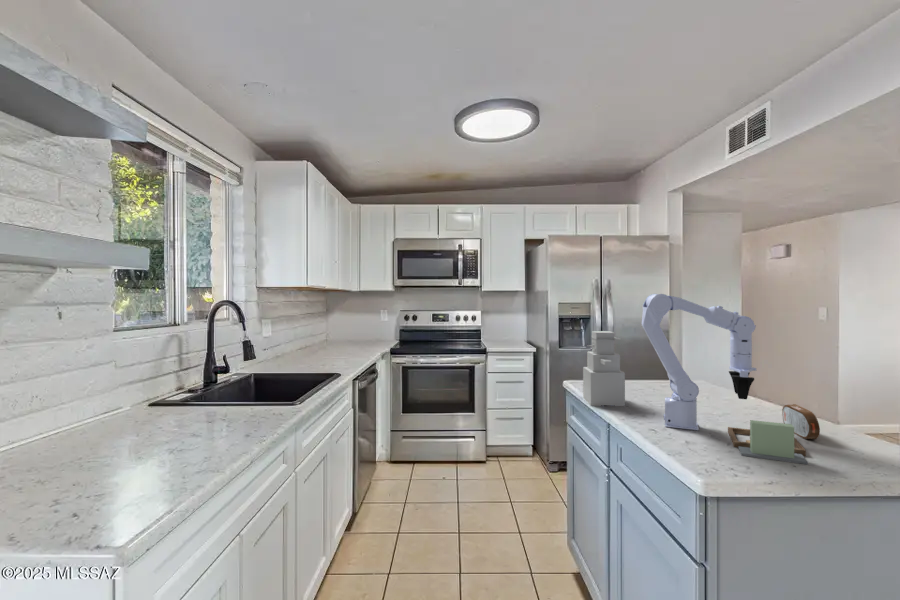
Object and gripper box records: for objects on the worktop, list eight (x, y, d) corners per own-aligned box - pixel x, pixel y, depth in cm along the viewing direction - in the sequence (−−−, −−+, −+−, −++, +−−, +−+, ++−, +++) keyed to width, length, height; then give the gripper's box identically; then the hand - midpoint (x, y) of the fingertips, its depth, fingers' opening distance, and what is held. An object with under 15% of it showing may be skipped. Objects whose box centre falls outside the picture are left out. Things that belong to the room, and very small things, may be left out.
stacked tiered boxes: (610, 394, 186) (610, 329, 186) (629, 409, 163) (629, 334, 162) (580, 394, 187) (579, 329, 187) (593, 409, 164) (593, 334, 163)
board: (752, 452, 116) (752, 423, 116) (750, 449, 119) (750, 420, 119) (794, 458, 112) (794, 427, 112) (791, 454, 115) (791, 424, 115)
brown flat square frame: (733, 447, 122) (733, 441, 122) (727, 431, 136) (727, 427, 136) (805, 456, 115) (805, 450, 115) (791, 439, 128) (791, 434, 128)
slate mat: (741, 455, 116) (741, 453, 116) (738, 448, 121) (738, 446, 121) (807, 464, 110) (807, 462, 110) (801, 456, 115) (801, 454, 115)
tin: (821, 443, 125) (821, 414, 125) (808, 442, 125) (808, 413, 125) (791, 427, 139) (791, 401, 139) (780, 427, 140) (780, 401, 140)
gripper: (760, 357, 130) (760, 402, 130) (752, 351, 143) (752, 392, 143) (732, 355, 133) (732, 400, 133) (726, 350, 146) (726, 390, 146)
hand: (740, 396), depth 138 cm, fingers open, 7 cm apart
